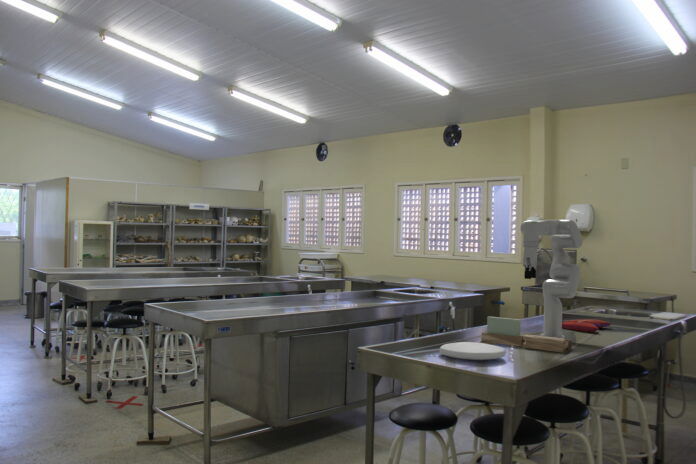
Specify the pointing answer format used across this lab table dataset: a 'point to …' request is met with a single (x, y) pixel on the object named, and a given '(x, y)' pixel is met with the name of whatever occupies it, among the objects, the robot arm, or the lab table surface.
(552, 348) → the rack
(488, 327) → the tall sheet
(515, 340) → the cradle
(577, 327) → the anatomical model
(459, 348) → the plate
